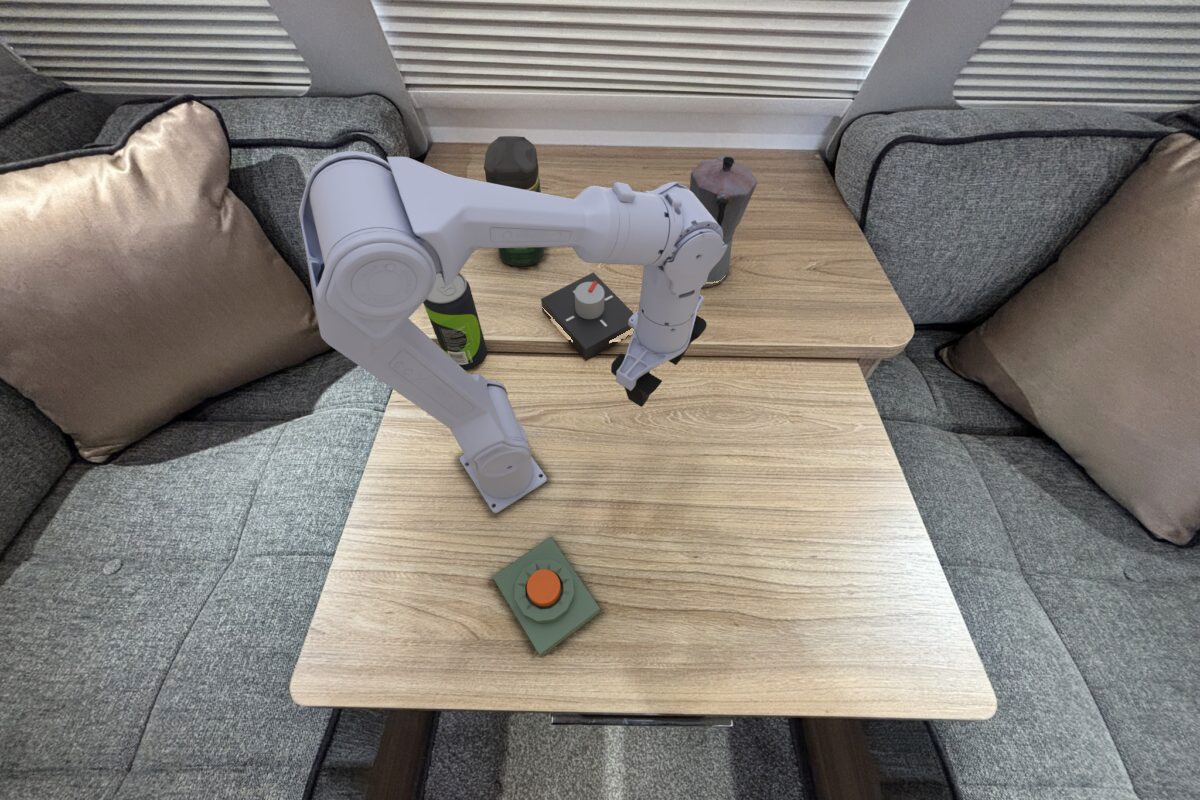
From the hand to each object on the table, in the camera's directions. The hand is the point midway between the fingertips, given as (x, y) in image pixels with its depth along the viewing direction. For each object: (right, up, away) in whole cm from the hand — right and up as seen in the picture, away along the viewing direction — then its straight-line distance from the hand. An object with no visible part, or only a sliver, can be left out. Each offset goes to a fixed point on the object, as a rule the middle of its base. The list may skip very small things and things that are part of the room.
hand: (653, 379), depth 65 cm
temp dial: (-8, +11, +16) cm, 21 cm away
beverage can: (-27, +4, +14) cm, 31 cm away
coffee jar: (-20, +24, +27) cm, 41 cm away
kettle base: (-13, -25, -4) cm, 29 cm away
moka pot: (+11, +19, +25) cm, 33 cm away
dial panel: (-8, +10, +18) cm, 22 cm away
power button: (-13, -23, -7) cm, 28 cm away
